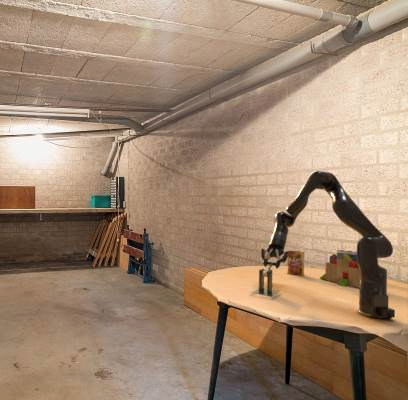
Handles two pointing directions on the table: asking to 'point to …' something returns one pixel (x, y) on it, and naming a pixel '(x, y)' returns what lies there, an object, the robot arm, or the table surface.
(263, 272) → the lever
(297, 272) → the candy box
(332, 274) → the block set
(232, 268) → the table surface
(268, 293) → the bracket
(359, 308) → the robot arm
